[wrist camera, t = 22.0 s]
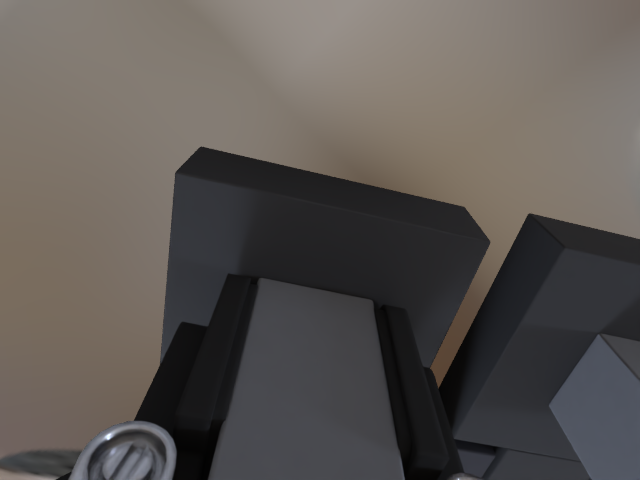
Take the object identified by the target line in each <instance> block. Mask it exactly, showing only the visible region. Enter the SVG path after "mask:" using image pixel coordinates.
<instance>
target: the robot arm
mask: <svg viewBox="0 0 640 480" xmlns="http://www.w3.org/2000/svg"><path fill="white" fill-rule="evenodd" d="M250 281H251V278H250V277H245V276H240V275H235V274H230V273H228V275H227V277H226V280H225V283H224V285H223V288H222V291H221V293H220V296H219V299H218V301H217V304H216V307H215V309H214V312H213V315H212V317H211V320H210V323H209V325H208V326H203V325H197V324H192V323H187V322H181V323H180V325H179V327H178V328H177V330H176V333H175V335H174V337H173V339H172V341H171V343H170V345H169V347H168V349H167V352H166V354H165V356H164V358H163V360H162V362H161V364H160V366H159V369H158V371H157V373H156V375H155V377H154V379H153V382H152V384H151V385H150V388H149V390H148V392H147V394H146V396H145V398H144V400H143V402H142V405H141V407H140V409H139V411H138V413H137V415H136V417H135V419H134V421H127V422H124V423H120V424H117V425H113V426H111V427H110V428H108V429H106V430H104V431H102V432H101V433H99V434H98V435H97V436H95V437H94V438H93V439H92V440H91V441H90V442H89V443H88V444H87V445H86V447H85V448H84V450H83V451H82V453H81V454H80V456H79V458H78V460H77V462H76V464H75V467H74V469H73V471H72V472H70V473H68V474H66V475H64V476H62V477H60V478H58V479H56V480H208V477H209V473H210V469H211V465H212V461H213V457H214V453H215V449H216V445H217V441H218V437H219V433H220V429H221V425H222V424H223V422H224V421H225V420H226V416H227V412H228V408H229V404H230V400H231V396H232V392H233V388H234V383H235V379H236V375H237V371H238V367H239V363H240V359H241V355H242V351H243V347H244V342H245V338H246V334H247V330H248V326H249V322H250V318H251V314H252V310H253V306H254V301H255V297H256V293H257V289H258V285H254V284H250ZM374 312H375V318H376V323H377V329H378V335H379V341H380V346H381V352H382V358H383V364H384V369H385V375H386V381H387V386H388V392H389V398H390V404H391V409H392V415H393V421H394V427H395V432H396V438H397V444H398V449H399V450H400V455H401V461H402V466H403V472H404V478H405V480H484V479H483V478H481V477H478V476H475V475H473V474H468V473H464V469H463V466H462V463H461V460H460V456H459V453H458V450H457V447H456V444H455V440H454V437H453V434H452V431H451V428H450V424H449V421H448V418H447V415H446V411H445V408H444V405H443V402H442V399H441V395H440V392H439V389H438V386H437V383H436V379H435V376H434V374H433V372H432V370H431V369H430V368H428V367H423V365H422V361H421V358H420V354H419V351H418V347H417V344H416V340H415V337H414V333H413V330H412V326H411V323H410V319H409V316H408V312H407V310H406V309H405V308H400V307H395V306H390V305H385V304H384V305H382V306H381V308H380V309H374Z"/></svg>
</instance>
